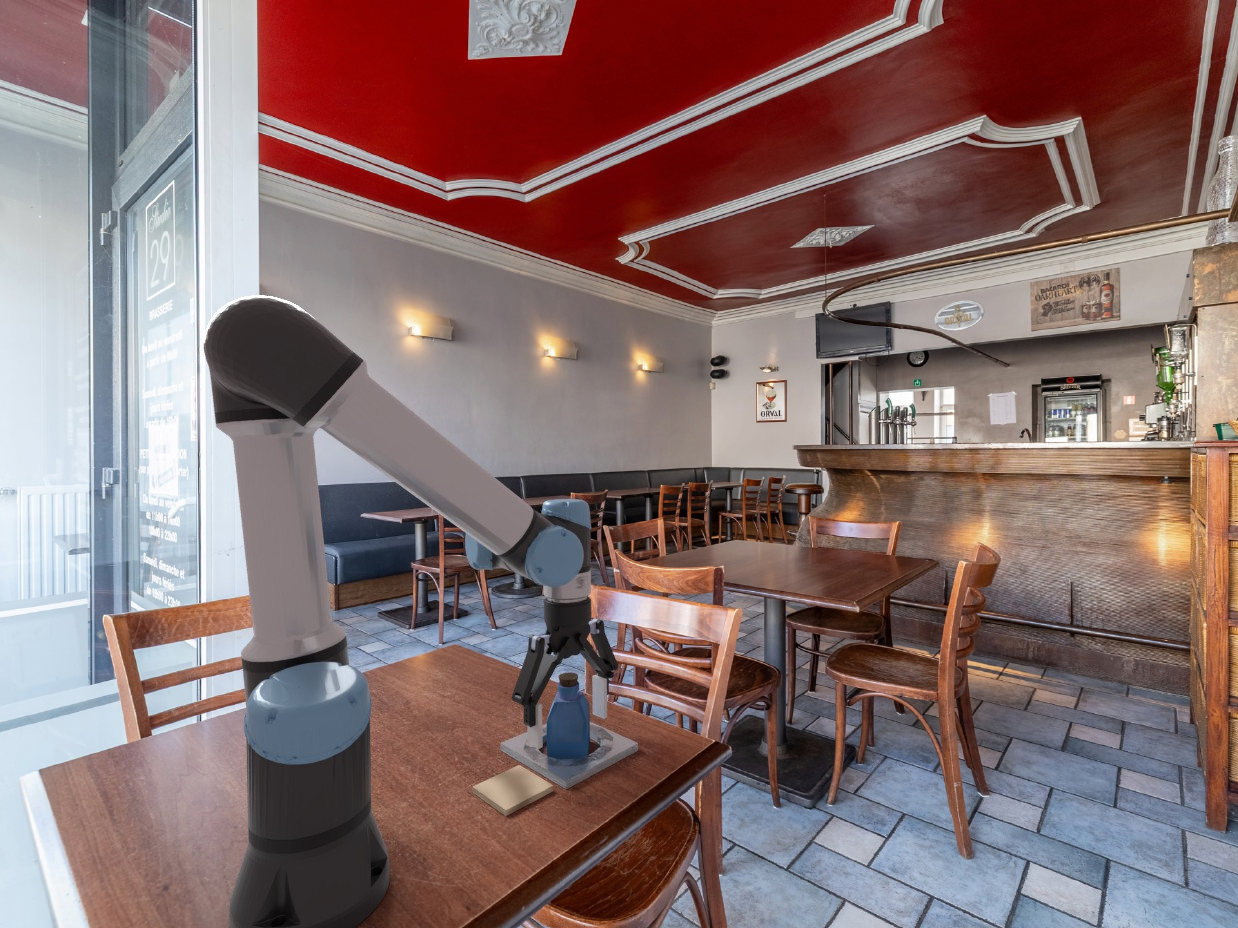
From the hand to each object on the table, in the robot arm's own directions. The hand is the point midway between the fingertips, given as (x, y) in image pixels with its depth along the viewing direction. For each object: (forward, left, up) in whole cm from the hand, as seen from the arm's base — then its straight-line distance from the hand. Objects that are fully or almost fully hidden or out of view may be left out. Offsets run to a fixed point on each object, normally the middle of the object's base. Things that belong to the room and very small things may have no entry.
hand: (569, 729), depth 94 cm
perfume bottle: (0, 0, -4) cm, 4 cm away
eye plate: (0, 0, -3) cm, 3 cm away
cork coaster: (-13, -3, -3) cm, 14 cm away
